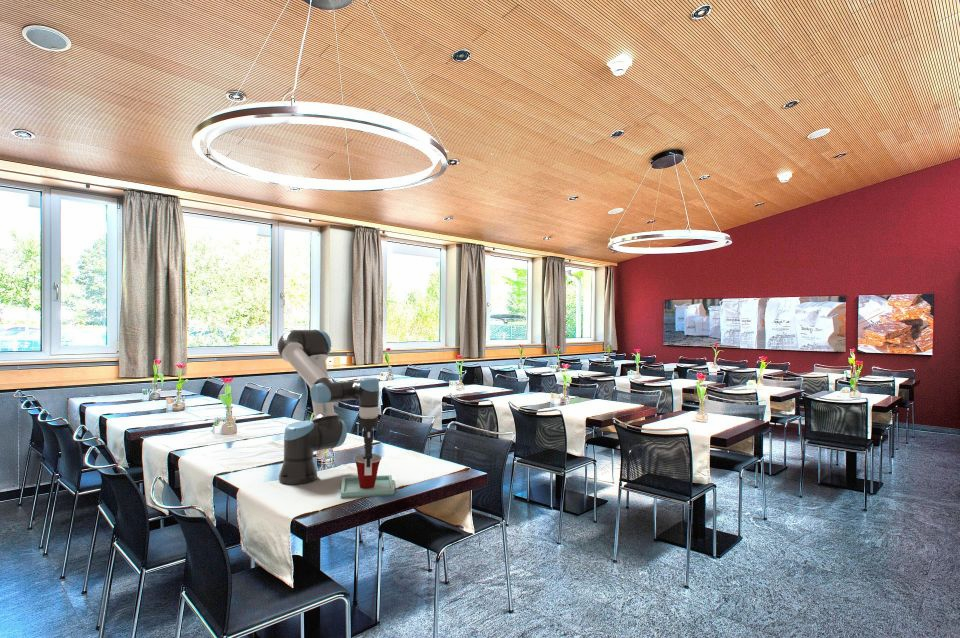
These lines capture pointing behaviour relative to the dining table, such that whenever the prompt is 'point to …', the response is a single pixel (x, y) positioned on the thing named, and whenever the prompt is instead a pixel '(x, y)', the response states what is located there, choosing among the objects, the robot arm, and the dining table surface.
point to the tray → (380, 488)
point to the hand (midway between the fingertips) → (367, 470)
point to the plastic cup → (366, 480)
